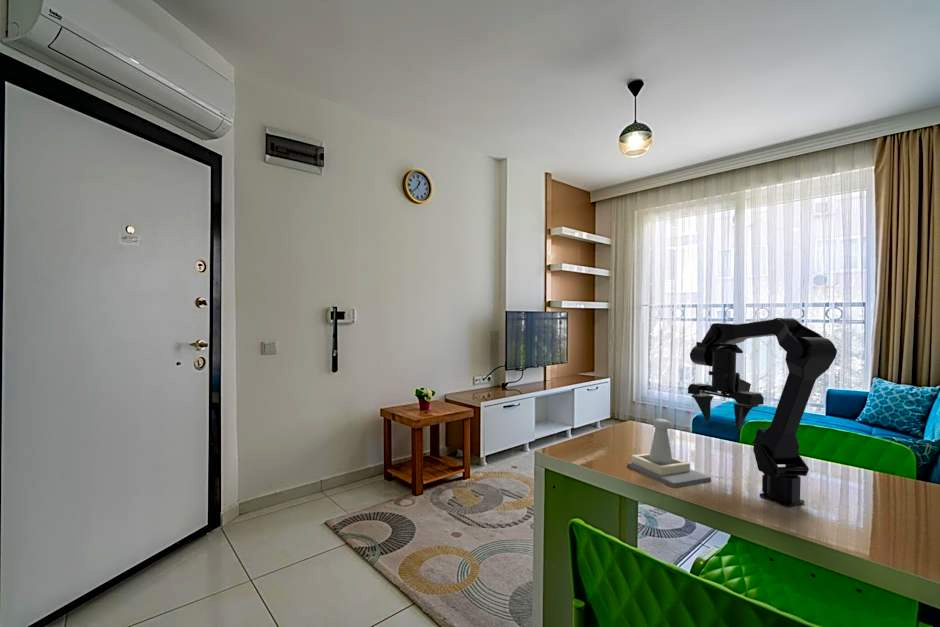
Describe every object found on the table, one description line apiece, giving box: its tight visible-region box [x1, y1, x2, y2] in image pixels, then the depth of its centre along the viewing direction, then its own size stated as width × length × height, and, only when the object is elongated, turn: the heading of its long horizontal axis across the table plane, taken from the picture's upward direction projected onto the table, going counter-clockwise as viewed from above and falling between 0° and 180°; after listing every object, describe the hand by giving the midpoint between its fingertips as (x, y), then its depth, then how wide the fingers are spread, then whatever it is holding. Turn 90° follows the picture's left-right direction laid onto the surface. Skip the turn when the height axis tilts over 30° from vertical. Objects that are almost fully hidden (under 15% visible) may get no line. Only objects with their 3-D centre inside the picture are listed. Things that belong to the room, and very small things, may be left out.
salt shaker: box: [649, 418, 673, 466], centre depth 118 cm, size 6×6×13 cm
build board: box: [626, 452, 712, 488], centre depth 116 cm, size 16×13×3 cm
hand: (722, 424), depth 119 cm, fingers open, 9 cm apart
